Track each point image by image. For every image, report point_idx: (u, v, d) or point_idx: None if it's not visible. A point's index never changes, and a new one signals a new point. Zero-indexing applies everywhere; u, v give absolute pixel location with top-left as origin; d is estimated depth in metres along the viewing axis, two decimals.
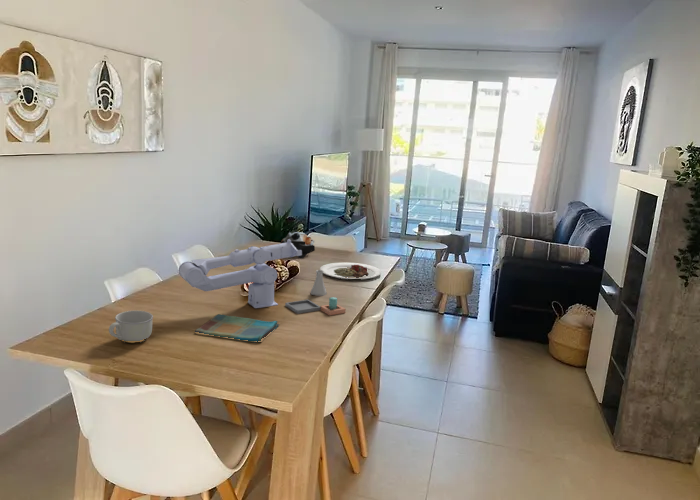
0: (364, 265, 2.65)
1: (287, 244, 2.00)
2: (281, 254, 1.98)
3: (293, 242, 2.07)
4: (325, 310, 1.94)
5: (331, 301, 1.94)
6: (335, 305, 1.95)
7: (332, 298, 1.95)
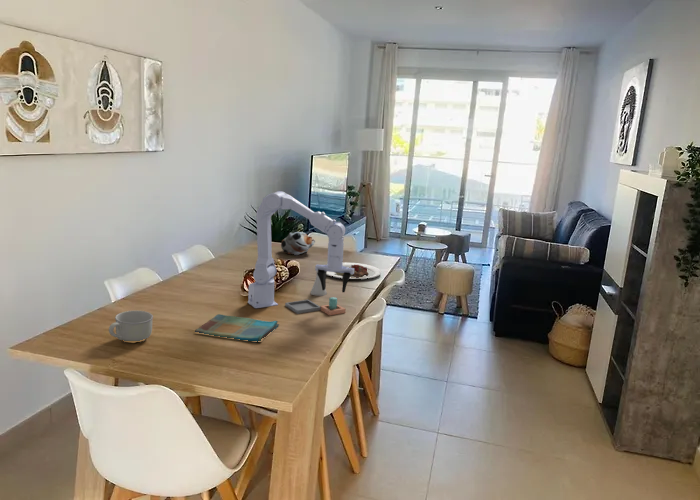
0: (364, 265, 2.65)
1: None
2: (342, 256, 1.91)
3: (325, 275, 1.96)
4: (325, 310, 1.94)
5: (331, 301, 1.94)
6: (335, 305, 1.95)
7: (332, 298, 1.95)
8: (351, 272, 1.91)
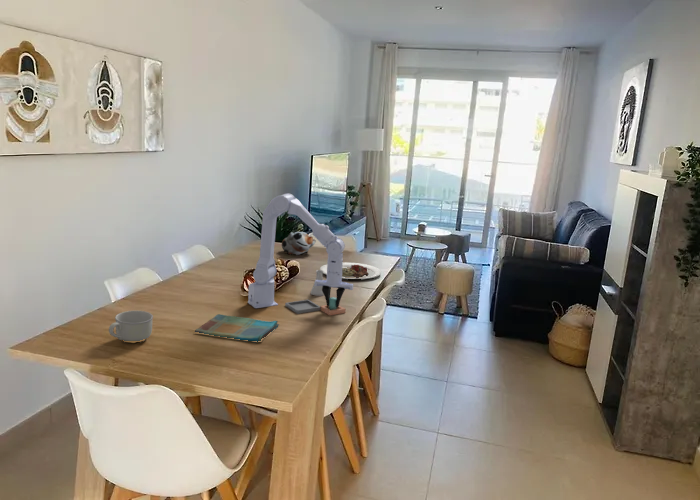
0: (364, 265, 2.65)
1: None
2: (341, 271, 1.92)
3: (330, 291, 1.97)
4: (325, 310, 1.94)
5: (331, 301, 1.94)
6: (335, 305, 1.95)
7: (332, 298, 1.95)
8: (350, 288, 1.92)
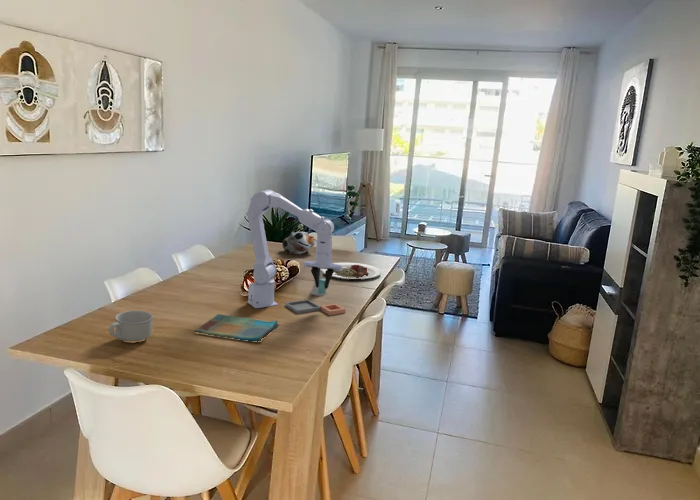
0: (364, 265, 2.65)
1: None
2: (330, 253, 1.91)
3: (319, 272, 1.96)
4: (325, 310, 1.94)
5: (320, 282, 1.93)
6: (324, 286, 1.94)
7: (321, 279, 1.95)
8: (339, 269, 1.91)
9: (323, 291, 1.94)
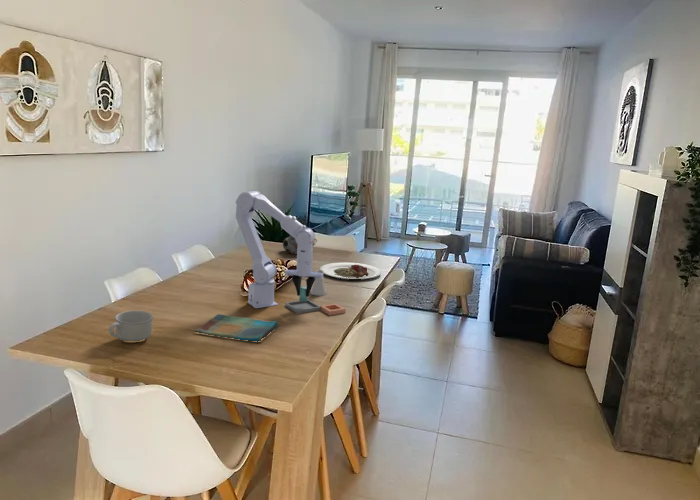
0: (364, 265, 2.65)
1: None
2: (311, 261, 1.93)
3: (300, 280, 1.98)
4: (325, 310, 1.94)
5: (301, 290, 1.95)
6: (305, 294, 1.96)
7: (302, 287, 1.97)
8: (320, 277, 1.93)
9: (304, 299, 1.96)
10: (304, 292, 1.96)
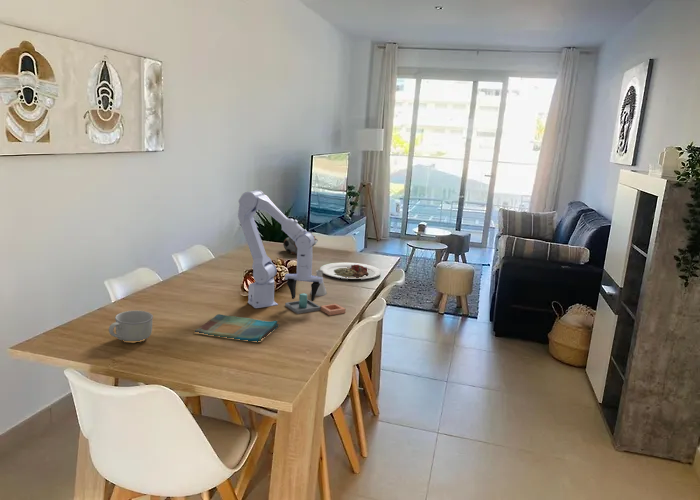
0: (364, 265, 2.65)
1: None
2: (311, 265, 1.94)
3: (295, 284, 1.99)
4: (325, 310, 1.94)
5: (301, 297, 1.96)
6: (305, 301, 1.97)
7: (302, 294, 1.97)
8: (320, 281, 1.94)
9: (304, 306, 1.97)
10: (304, 299, 1.96)
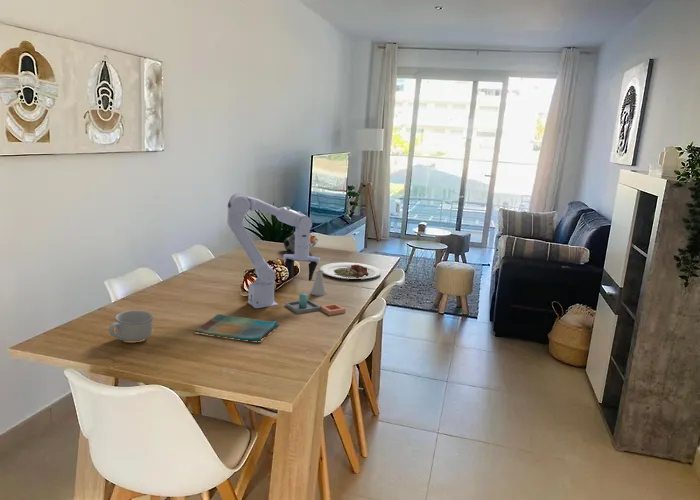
0: (364, 265, 2.65)
1: None
2: (308, 245, 2.00)
3: (293, 264, 2.05)
4: (325, 310, 1.94)
5: (301, 297, 1.96)
6: (305, 301, 1.97)
7: (302, 294, 1.97)
8: (317, 261, 2.00)
9: (304, 306, 1.97)
10: (304, 299, 1.96)
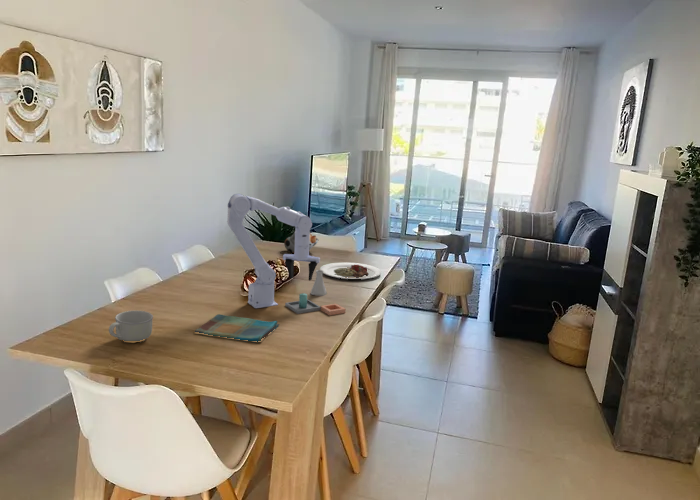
0: (364, 265, 2.65)
1: None
2: (308, 245, 2.00)
3: (293, 264, 2.05)
4: (325, 310, 1.94)
5: (301, 297, 1.96)
6: (305, 301, 1.97)
7: (302, 294, 1.97)
8: (317, 261, 2.01)
9: (304, 306, 1.97)
10: (304, 299, 1.96)
